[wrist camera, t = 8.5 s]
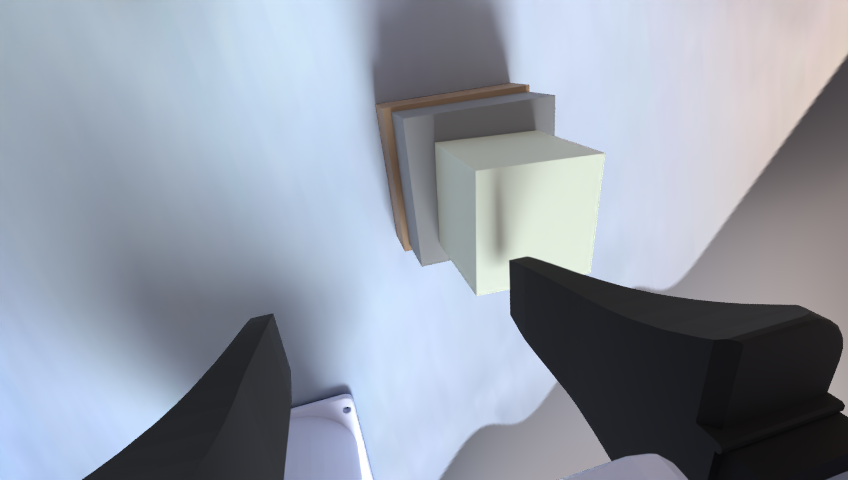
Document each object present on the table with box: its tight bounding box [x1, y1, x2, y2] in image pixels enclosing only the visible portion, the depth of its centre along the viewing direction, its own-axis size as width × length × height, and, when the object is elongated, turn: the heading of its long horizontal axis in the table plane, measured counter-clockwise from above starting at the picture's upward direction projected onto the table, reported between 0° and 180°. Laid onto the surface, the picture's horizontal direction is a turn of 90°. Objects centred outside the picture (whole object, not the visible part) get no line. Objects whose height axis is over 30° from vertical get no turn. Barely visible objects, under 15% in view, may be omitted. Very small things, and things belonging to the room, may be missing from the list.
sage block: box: [435, 130, 605, 296], centre depth 16 cm, size 4×4×4 cm
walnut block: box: [375, 83, 529, 251], centre depth 21 cm, size 7×7×2 cm
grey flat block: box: [391, 92, 555, 266], centre depth 19 cm, size 6×6×2 cm
